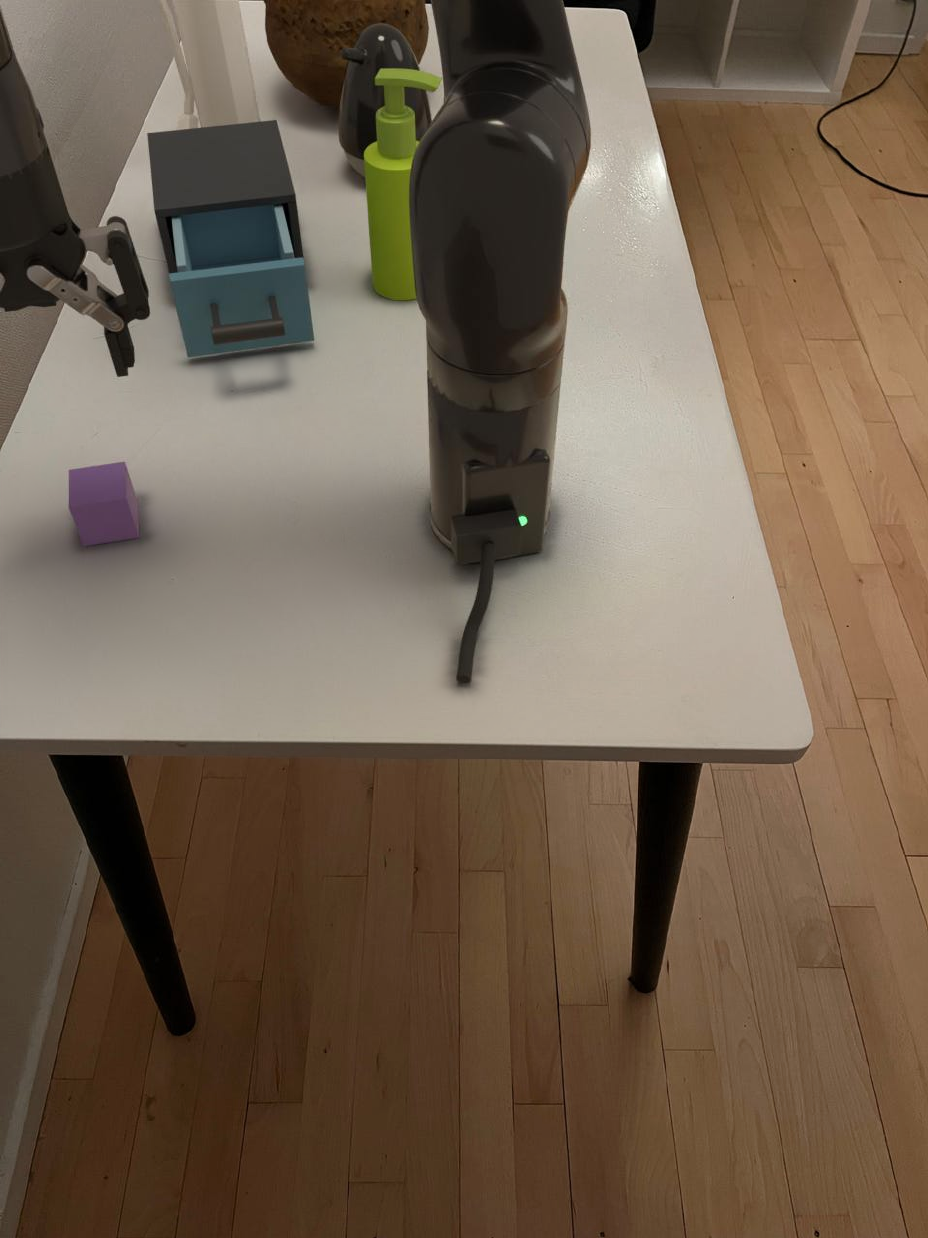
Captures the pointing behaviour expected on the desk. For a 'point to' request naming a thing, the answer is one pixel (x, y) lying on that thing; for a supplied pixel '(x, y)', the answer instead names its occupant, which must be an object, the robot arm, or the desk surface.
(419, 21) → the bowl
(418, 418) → the desk surface
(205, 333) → the drawer
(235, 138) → the dark grey box
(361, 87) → the black penguin figurine
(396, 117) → the soap dispenser
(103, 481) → the lilac foam cube
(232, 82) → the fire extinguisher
